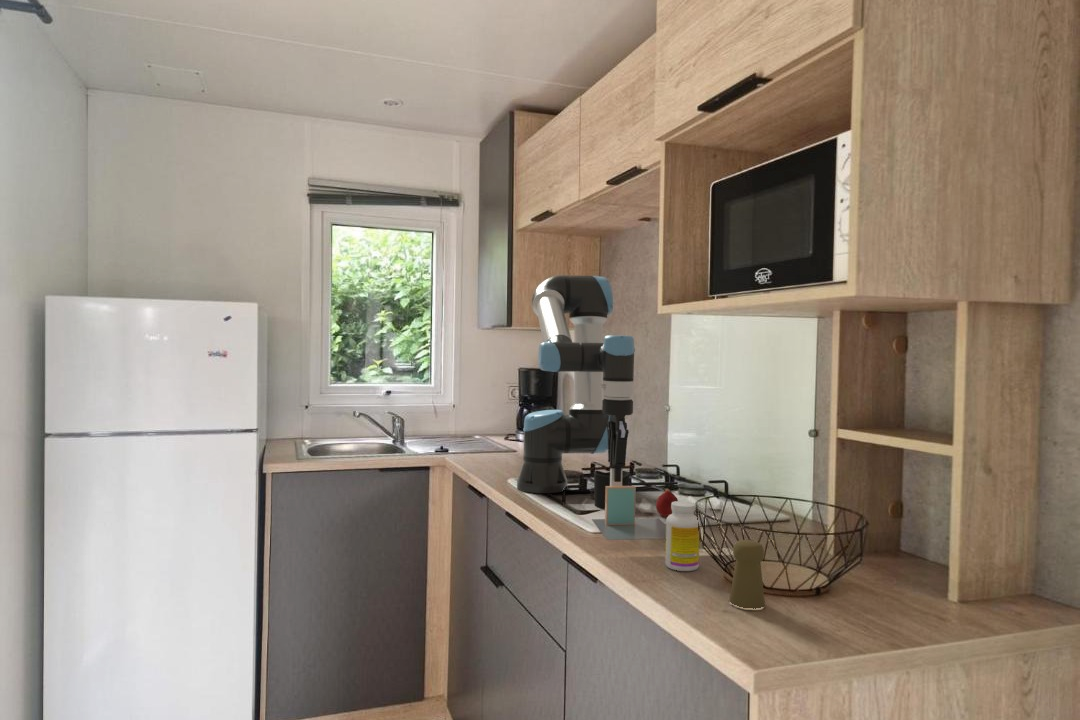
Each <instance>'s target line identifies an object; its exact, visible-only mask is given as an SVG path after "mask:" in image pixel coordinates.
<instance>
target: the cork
mask: <svg viewBox="0 0 1080 720" xmlns="http://www.w3.org/2000/svg"><path fill="white" fill-rule="evenodd" d="M764 548H765V547H764V546H763V545H762V544H761V543H760V542H758V541H756V540H755V541H754V540H751V539H750V540H749V539H742V540H741V539H740V540H737V541H736V542H735V543H734V544H733V547H732V554H733V557H734V559H735V565H734V571H733V575H732V582H731V587H730V596H729V600H730V602H731V603H732V604H734V605H737V606H739V607H743V608H753V609H754V608H755V609H756V608H761V607H764V606H765V607H766V604H765V603H766V602H765V593H764V584H763V574H762V565H761V562H763V560H764V557H765V549H764Z"/></svg>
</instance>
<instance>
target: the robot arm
mask: <svg viewBox="0 0 1080 720" xmlns="http://www.w3.org/2000/svg"><path fill="white" fill-rule="evenodd" d="M531 306H532V310H533V313H534V315H536V316H537V318H538V323H539V327H540V331H541V333H540V334H541V337H542V341H543V342H540V344H539V346H538V367H539V369H540V370H541V371H544V372H553V373H557V372H559V373H561V372H564V373H565V372H566V373H567V372H574V373H573V376H574V377H573V386H574V387H573V397H574V401H573V402H574V403H572V405H571V406H570V408H568V409H569V410H568V414H564V412H563V410H561V409H545V410H537V411H533V412H531V413H530V412H529V413H528V414H527V415H525V416H524V420H523V421H524V422H523V429H522V431H523V457H522V458H523V462H522V466H521V469H520V471H519V475H518V477H517V482H516V488H517V489H518V490H519V491H520V492H521V491H522V492H524V493H525V492H526V493H533V494H556V493H561V492H563V491H562V490H563V488H564V487H566V486H567V487H568V479H567V475H566V472H565V469H564V466H563V462H562V461H563V454H591V455H594V454H604V453H606V452H607V458H608V459H607V462H608V463H609V465H608V466H609V469H610V470H609V472H610V486H622V471H623V470H624V468H626V459H627V444H628V436H629V433H630V431H629V429H628V423H627V422H626V416H631V415H633V413H634V400H633V399H632V398H633V397H634V395H635V394H634V393H635V392H634V389H635V387H634V386H635V382H634V377H635V375H634V374H635V373H634V372H635V351H636V348H635V339H634V336H631V335H617V334H616V335H615V334H614V335H613V334H612V335H609V334H607V335H605V336H604V337H603V325H604V324H605V323H606V322H607V320H608V316H609V315H611V314H612V313H613V309H614V295H613V290H612V286H611V283H610V281H609V279H607V278H606V277H605V276H598V275H567V274H566V275H564V274H559V275H553V276H550V277H549V278H547V279H545V280H542V282H541V283H539V284H538V286H536V288H535V289H534V292H533V293H532V296H531ZM565 314H567V315H568V317H569V319H568V320H569V321H570V322H571V323H572V324H573V326H574V329H573V330H574V333H573V336H574V337H573V338H574V341H573V340H572V336H571V332H570V329H569V325H568V322H567V318H566V315H565ZM603 338H604V339H603ZM603 397H604V398H603Z"/></svg>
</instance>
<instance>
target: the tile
mask: <svg viewBox="0 0 1080 720" xmlns="http://www.w3.org/2000/svg"><path fill="white" fill-rule="evenodd" d="M636 490H637V489H636V486H635V485H629V486H606V487H605V509H604V519H605V524H606V525H635V519H636V493H637V491H636Z"/></svg>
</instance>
